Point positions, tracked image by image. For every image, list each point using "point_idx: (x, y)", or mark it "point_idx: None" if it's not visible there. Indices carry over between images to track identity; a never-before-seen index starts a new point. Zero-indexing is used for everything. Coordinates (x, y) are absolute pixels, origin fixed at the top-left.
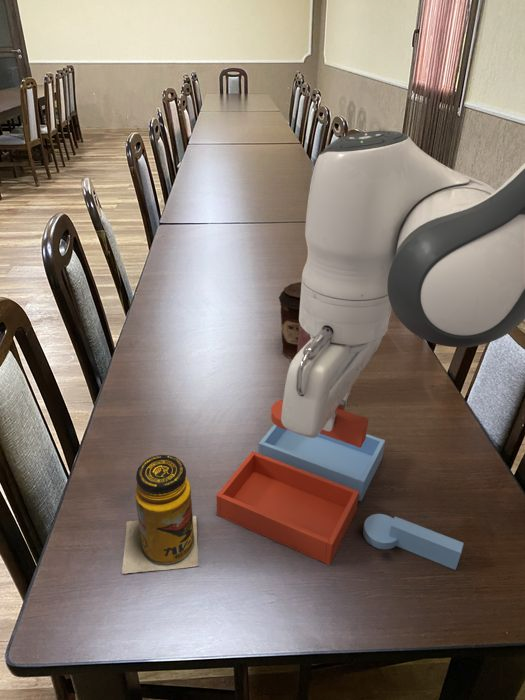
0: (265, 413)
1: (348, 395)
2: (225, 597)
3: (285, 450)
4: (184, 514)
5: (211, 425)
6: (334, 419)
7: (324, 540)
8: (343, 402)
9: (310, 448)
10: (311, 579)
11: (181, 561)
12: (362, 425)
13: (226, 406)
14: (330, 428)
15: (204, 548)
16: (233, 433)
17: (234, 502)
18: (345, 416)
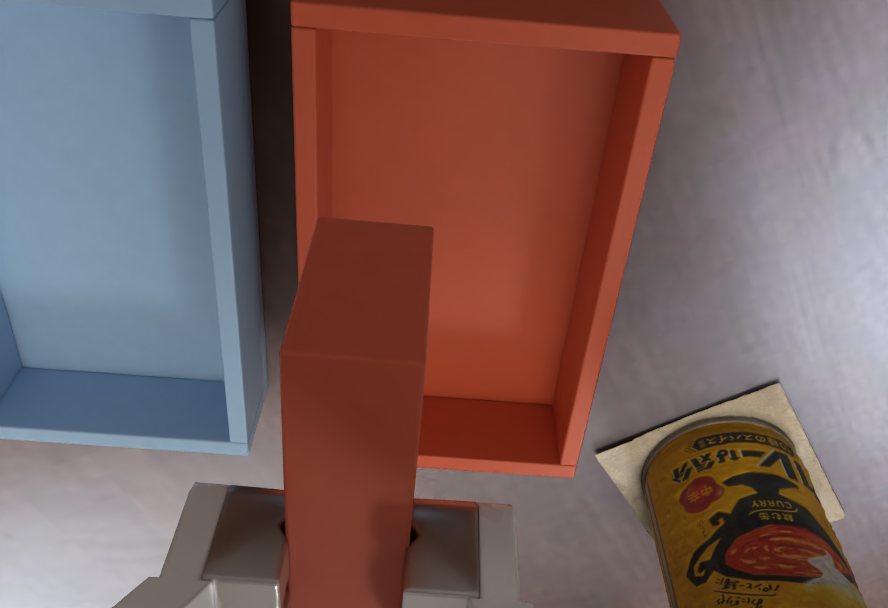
0: (9, 448)
1: (144, 599)
2: (872, 274)
3: (226, 366)
4: (810, 573)
5: None
6: (482, 577)
7: (668, 74)
8: (238, 586)
9: (81, 256)
10: (741, 39)
11: (770, 422)
12: (414, 378)
13: (75, 553)
14: (514, 528)
15: (703, 389)
16: (185, 493)
17: (583, 423)
18: (362, 507)
